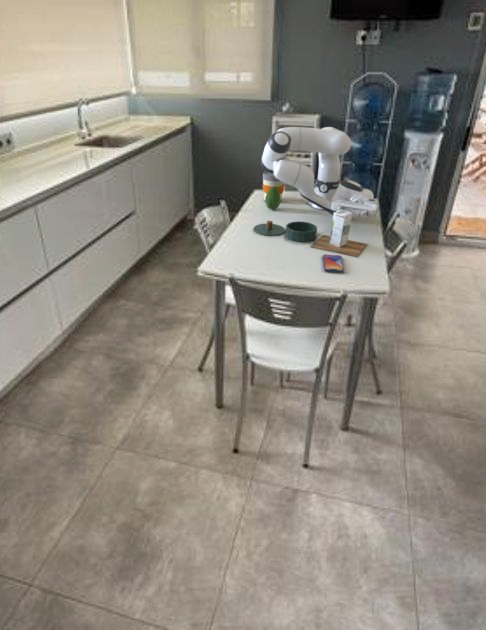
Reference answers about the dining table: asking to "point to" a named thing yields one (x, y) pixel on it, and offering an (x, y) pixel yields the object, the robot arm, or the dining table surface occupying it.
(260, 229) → the pot lid
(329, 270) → the smartphone
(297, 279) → the dining table surface
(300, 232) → the pot
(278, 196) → the avocado
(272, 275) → the dining table surface
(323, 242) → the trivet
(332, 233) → the syrup box
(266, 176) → the reusable coffee cup
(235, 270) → the dining table surface
